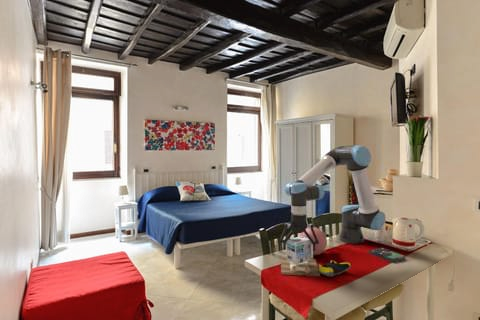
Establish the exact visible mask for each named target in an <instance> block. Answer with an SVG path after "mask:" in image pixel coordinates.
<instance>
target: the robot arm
mask: <svg viewBox="0 0 480 320" xmlns="http://www.w3.org/2000/svg"><path fill="white" fill-rule="evenodd" d="M371 159H372V155H371V152H370V150H369V149H368V148H367V147H366V146H365V145H359V144H356V145H341V146H338V147H335V148H333V149H331V150H330V151H328V152H327V153H325V154H324V155H323V156H322V157H321V160H320V161H318V162H317V163H316V164H315V165H314V166H313V167H311V168H310V169H309V170H308V171H307V172H306V173H304V174H303V175H302V176H301V177H299V178H298V179H297V180H296V181H295V182H289V183H287V184H286V185H285V189H284V191H285V194H286V195H287V196H288V197H290V201H291V204H290V205H291V207H290V208H291V209H290V212H291V215H290V217H291V218H290V219H291V221H290V223H287V222H286V223H284V229H283V231H282V233H281V236H280V237H279V243H281V244H283V247H282V248H283V251H285V258H287V241H288V240H289V239H291V238H292V236H293V235H294V233H300V234H301V233H302V232H304V233H305V234H306V236H307V237H308V238H309V240H310V241H311V242H312V243H311V259H314V255H313V251H315V245H316V244H319V241H318V239H317V237H316V234H315V232H314V230H313V227H314V224H313V223H307V221H308V219H307V216H308V215H307V214H308V213H307V205H308V204H307V202H309V201H318V200H322V199H323V198H324V196H325V190H324V187H323V186H322V185H320V184H319V185H318V184H315V183H317V181H319V180H320V179H321V178H322V177H324V176H325V174H326V173H328V172H329V171H330V170H333V169H335V168H336V167H338V166H346V168H347V171H348V172H349V173H350V174H351V177H352V181H353V184H354V189H355V193H356V197H357V201H358V204H349V205H348V204H347V205H344V206H342V208H341V230H340V232H339V237H338V239H339V241H340V242H342V243H347V244H354V245H355V244H356V245H357V244H362V243H364V242H365V236H364V234H363V230H362V228H365V229H369V230H371V231H380V230H382V229H383V227H384V225H385V223H386V214H385V213H384V212H383V211H382V210H381V211H380V209H379V205H377V204H376V202H375V198H374V195H373V190H372V187H371V182H370V179H369V174H368V171H367V169H368V168H369V165H370V163H371V162H372V161H371ZM290 227H291V230H290V232H288V234H287V231H288V229H289V228H290ZM306 228H310V229H311V231H312V233H313V236H314V238H315V241H314V240H313V239H312V238H311V236H310V235H309V234H308V232H307V231H306ZM286 234H287V235H286ZM285 235H286V236H285Z"/></svg>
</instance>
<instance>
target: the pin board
mask: <svg viewBox="0 0 480 320" xmlns="http://www.w3.org/2000/svg"><path fill="white" fill-rule="evenodd" d="M280 274H281V275H287V276H302V275H306V277H321V273H320V272H319V265H318V263H317V260H316V259H314V258H311V260H310V261H307V262H303V263H300V264H297V265H296V264H294V263H292V262H290V261H287V257H280Z"/></svg>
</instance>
